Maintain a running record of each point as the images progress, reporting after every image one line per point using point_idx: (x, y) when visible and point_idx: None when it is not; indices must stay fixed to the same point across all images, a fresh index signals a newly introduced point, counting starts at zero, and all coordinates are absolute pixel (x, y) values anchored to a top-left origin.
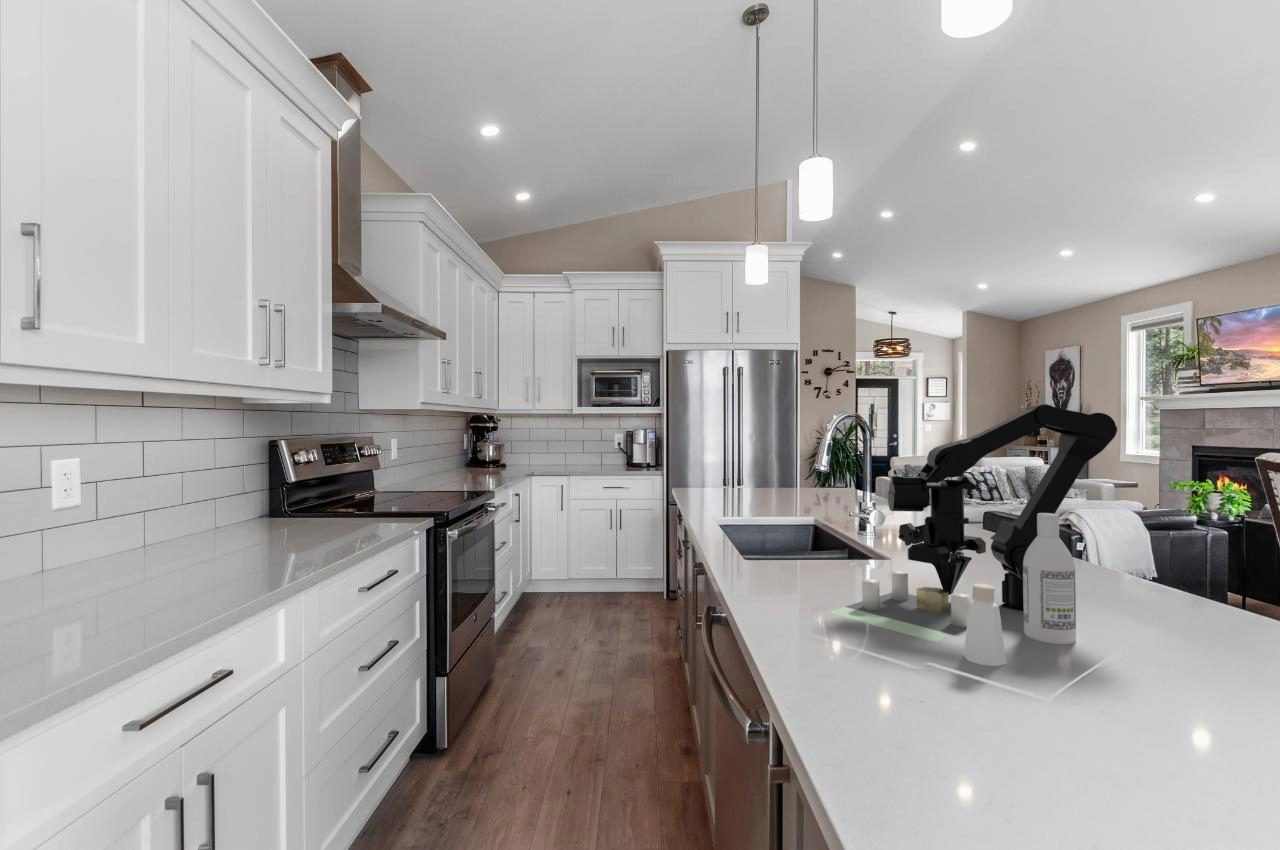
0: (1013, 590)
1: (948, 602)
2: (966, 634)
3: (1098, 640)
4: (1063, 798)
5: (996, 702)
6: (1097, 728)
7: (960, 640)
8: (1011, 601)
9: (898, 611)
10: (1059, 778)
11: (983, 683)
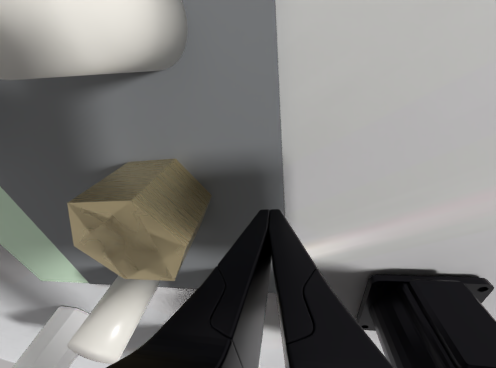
0: (400, 357)
1: (190, 246)
2: (29, 345)
3: (282, 361)
4: (13, 356)
5: (34, 334)
6: (82, 361)
7: (96, 288)
8: (390, 309)
9: (42, 154)
10: (21, 355)
11: (44, 325)
